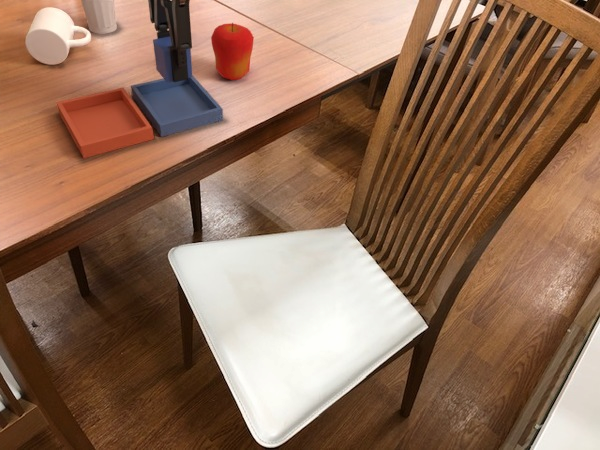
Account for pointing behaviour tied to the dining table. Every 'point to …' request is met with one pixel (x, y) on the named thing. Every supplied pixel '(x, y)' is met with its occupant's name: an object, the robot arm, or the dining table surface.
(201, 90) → the blue tray
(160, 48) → the block
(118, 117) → the red tray
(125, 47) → the dining table surface
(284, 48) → the dining table surface
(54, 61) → the mug
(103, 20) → the cup
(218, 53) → the apple
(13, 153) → the dining table surface
